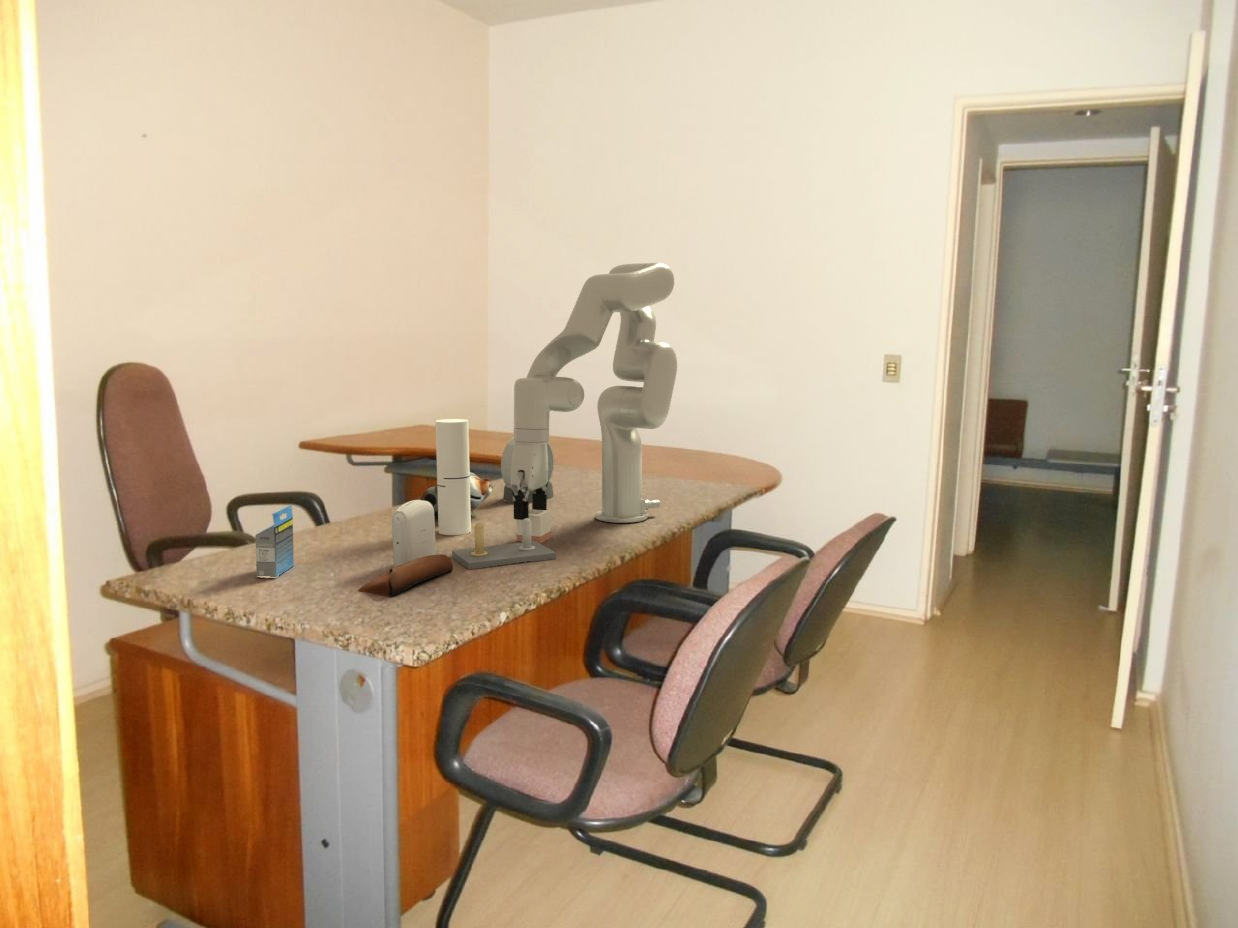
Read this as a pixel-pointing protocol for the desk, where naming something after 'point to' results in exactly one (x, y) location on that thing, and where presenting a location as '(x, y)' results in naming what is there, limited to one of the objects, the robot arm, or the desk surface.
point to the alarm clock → (506, 471)
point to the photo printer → (413, 531)
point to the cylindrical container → (453, 476)
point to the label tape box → (275, 545)
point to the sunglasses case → (408, 575)
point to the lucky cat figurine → (477, 493)
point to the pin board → (502, 550)
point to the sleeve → (536, 526)
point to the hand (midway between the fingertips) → (530, 515)
